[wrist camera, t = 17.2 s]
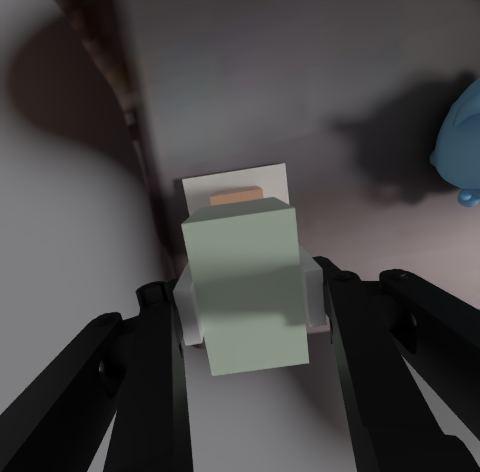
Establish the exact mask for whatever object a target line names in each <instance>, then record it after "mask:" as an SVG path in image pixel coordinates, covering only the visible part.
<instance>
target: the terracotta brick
mask: <svg viewBox="0 0 480 472" xmlns="http://www.w3.org/2000/svg"><path fill="white" fill-rule="evenodd" d="M262 198H264V197H263V189H262V188H260V187H258V186H251V187H245V188H238V189H232V190H226V191H219V192H214V193H213V194H212V195H211V196H210V201H211V206H214V205H221V204H228V203H235V202H241V201H248V200H255V199H262Z"/></svg>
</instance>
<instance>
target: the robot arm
mask: <svg viewBox="0 0 480 472" xmlns="http://www.w3.org/2000/svg"><path fill="white" fill-rule="evenodd" d="M298 248H299V258H300V274H301V284H302V294H303V304H304V314H305V318H306V320H307V322H308V324H309V326H310V327H314V326H320V325H327V323H326V314H327V316H328V317H329V320H330V334H331V344H333V347H334V352H335V357H336V362H337V368H338V373H339V377H340V384H341V389H342V394H343V399H344V405H345V410H346V415H347V420H348V426H349V431H350V436H351V442H352V447H353V452H354V457H355V463H356V468H357V472H480V467H479V466H478V464H477V463H476V461H475V459H474V457H473V456H472V454H471V453H470V451H469V450H468V448H467V447H466V446H465V444H464V443H463V442H462V441H461V440H460V439H459V438H458V437H456V436H453V435H445V434H444V433H443V432H442V430H441V428H440V427H439V425H438V423H437V421H436V420H435V417H434V415H433V414H432V412H431V410H430V408H429V406H428V404H427V402H426V401H425V399H424V397H423V395H422V393H421V391H420V389H419V387H418V386H417V384H416V382H415V380H414V378H413V376H412V375H411V373H410V371H409V369H408V367H407V365H406V364H405V361H404V360H403V358H402V356H403V357H404V358H405V359H406V361H407V362H408V363H409V364H410V365H411V366H412V367H413V368H414V369H415V370H416V372H417V373H418V374H419V375H420V376H421V377H422V378H423V379H424V380H425V381H426V382H427V384H428V385H429V386H430V387H431V388H432V389H433V390H434V391H435V392H436V393H437V395H438V396H439V397H440V398H441V399H442V400H443V401H444V402H445V403H446V404H447V406H448V407H449V408H450V409H451V410H452V411H453V412H454V413H455V414H456V415H457V417H458V418H459V419H460V420H461V421H462V422H463V423H464V424H465V425H466V426H467V428H468V429H469V430H470V431H471V432H472V433H473V434H474V435H475V436H476V437H477V438H478V440H479V441H480V310H478V309H476V308H474V307H473V306H471V305H469V304H467V303H465V302H464V301H462V300H460V299H458V298H457V297H455V296H453V295H451V294H449V293H448V292H446V291H444V290H442V289H440V288H439V287H437V286H435V285H433V284H432V283H430V282H428V281H426V280H424V279H423V278H421V277H419V276H417V275H415V274H414V273H411V272H409V271H404V270H402V269H398V270H397V269H392V270H386V271H382V272H381V273H380V275H379V281H361V279H360V278H359V276H358V275H357V274H356V273H354V272H351V271H341V270H340V269H339V268H338V267H337V266H336V265H334V264H333V263H332V262H331V261H330V260H329V259H328V258H325V257H322V256H318V257H311V256H310V255H309V254H308V253H307V252H306V251H305V250H304V249H303V248H302V247H301V246H300V245H299V244H298ZM136 295H137V298H138V302H139V306H140V313H139V315H138V316H135V317H132V318H129V319H126V320H123V319H122V317H121V314H120V313H118V312H112V313H105V314H103V315H100V316H98V317H97V318H95V319H93V320H92V321H91V322H90V323H88V324H87V325H86V326H85V328H84V329H83V330H82V331H81V332H80V333H79V334H78V335H77V336H76V337H75V338H74V339H73V340H72V341H71V342H70V343H69V344H68V345H67V346H66V347H65V348H64V349H63V350H62V351H61V352H60V353H59V355H58V356H57V357H56V358H55V359H54V360H53V361H52V362H51V363H50V364H49V365H48V366H47V367H46V368H45V369H44V370H43V371H42V372H41V373H40V374H39V375H38V377H36V378H35V380H34V381H33V382H32V383H31V384H30V385H29V386H28V387H27V388H26V389H25V390H24V391H23V392H22V393H21V394H20V395H19V396H18V397H17V398H16V400H14V401H13V403H11V404H10V406H9V407H8V408H7V409H6V410H5V411H4V412H3V413H2V414H1V415H0V472H87V471H88V468H89V466H90V464H91V462H92V460H93V458H94V456H95V454H96V452H97V450H98V448H99V446H100V444H101V442H102V440H103V437H104V435H105V434H106V431H107V429H108V427H109V425H110V423H111V421H112V419H113V417H114V415H115V413H116V411H117V413H116V417H115V422H114V426H113V430H112V434H111V439H110V443H109V448H108V452H107V457H106V460H105V465H104V469H103V472H193V459H192V448H191V436H190V424H189V413H188V403H187V402H188V401H187V391H186V378H185V367H184V355H183V348H182V344H181V340H182V337H184V341H185V345H192V344H199V343H202V340H203V335H204V328H203V323H202V318H201V314H200V309H199V304H198V299H197V295H196V290H195V285H194V281H193V279H192V274H191V270H190V265H189V261H188V263H187V265H186V267H185V269H184V271H183V273H182V275H181V277H180V278H178V279H172V280H170V281H169V282H168V283H166V282H164V281H157V282H152V283H149V284H146V285H143V286H141V287H140V288H139V289H137V291H136ZM401 355H402V356H401ZM99 367H100V372H99Z"/></svg>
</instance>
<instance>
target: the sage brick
mask: <svg viewBox="0 0 480 472" xmlns="http://www.w3.org/2000/svg"><path fill="white" fill-rule="evenodd" d="M181 225H182V230H183V235H184V240H185V245H186V250H187V255H188V260H189V265H190V270H191V274H192V279H193V281H194V285H195V290H196V295H197V299H198V304H199V309H200V314H201V318H202V323H203V328H204V338H205V343H206V348H207V353H208V358H209V363H210V368H211V373H212V376H216V375H223V374H230V373H237V372H245V371H252V370H260V369H267V368H275V367H282V366H289V365H297V364H304V363H309V357H308V347H307V335H306V324H305V314H304V304H303V294H302V284H301V274H300V258H299V248H298V237H297V226H296V215H295V208H294V207H292V206H291V205H289V204H287V203H285V202H283V201H281V200H279V199H277V198H275V197H269V198H262V199H255V200H248V201H241V202H235V203H228V204H221V205H214V206H207V207H200V208H199V209H198V210H197V211H196V212H195V213H193V214H192V215H191V216H190V217H189V218H188V219H187V220H186V221H184V222H183V223H182V224H181Z"/></svg>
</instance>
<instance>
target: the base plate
mask: <svg viewBox="0 0 480 472" xmlns="http://www.w3.org/2000/svg"><path fill="white" fill-rule="evenodd" d="M182 182H183V187H184V192H185V196H186V201H187V206H188V211H189V216H191V215H192V214H193V213H195V212H196V211H197V210H198V209H199V208H200V207H207V206H211V201H210V196H211V195H212V194H213V193H214V192H219V191H226V190H232V189H238V188H245V187H251V186H258V187H260V188H262V189H263V197H264V198H269V197H275V198H277V199H279V200H281V201H283V202H285V203H287V204H289V198H288V188H287V178H286V168H285V163H284V164H277V165H271V166H264V167H258V168H252V169H245V170H239V171H232V172H226V173H220V174H213V175H207V176H200V177H194V178H188V179H182Z"/></svg>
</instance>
